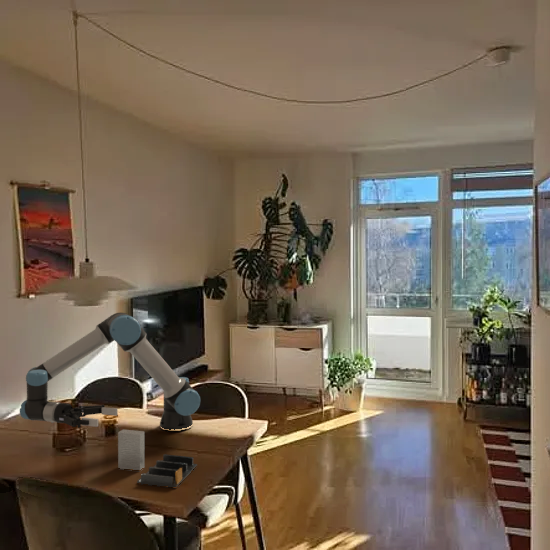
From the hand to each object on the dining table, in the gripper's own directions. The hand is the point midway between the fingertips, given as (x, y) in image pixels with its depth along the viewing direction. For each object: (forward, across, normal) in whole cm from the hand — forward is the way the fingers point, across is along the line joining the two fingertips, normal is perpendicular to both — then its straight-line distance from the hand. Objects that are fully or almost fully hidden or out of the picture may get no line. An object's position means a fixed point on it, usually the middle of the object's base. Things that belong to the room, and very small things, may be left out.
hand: (107, 417), depth 200 cm
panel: (+10, 0, -19) cm, 21 cm away
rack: (+26, +2, -19) cm, 32 cm away
